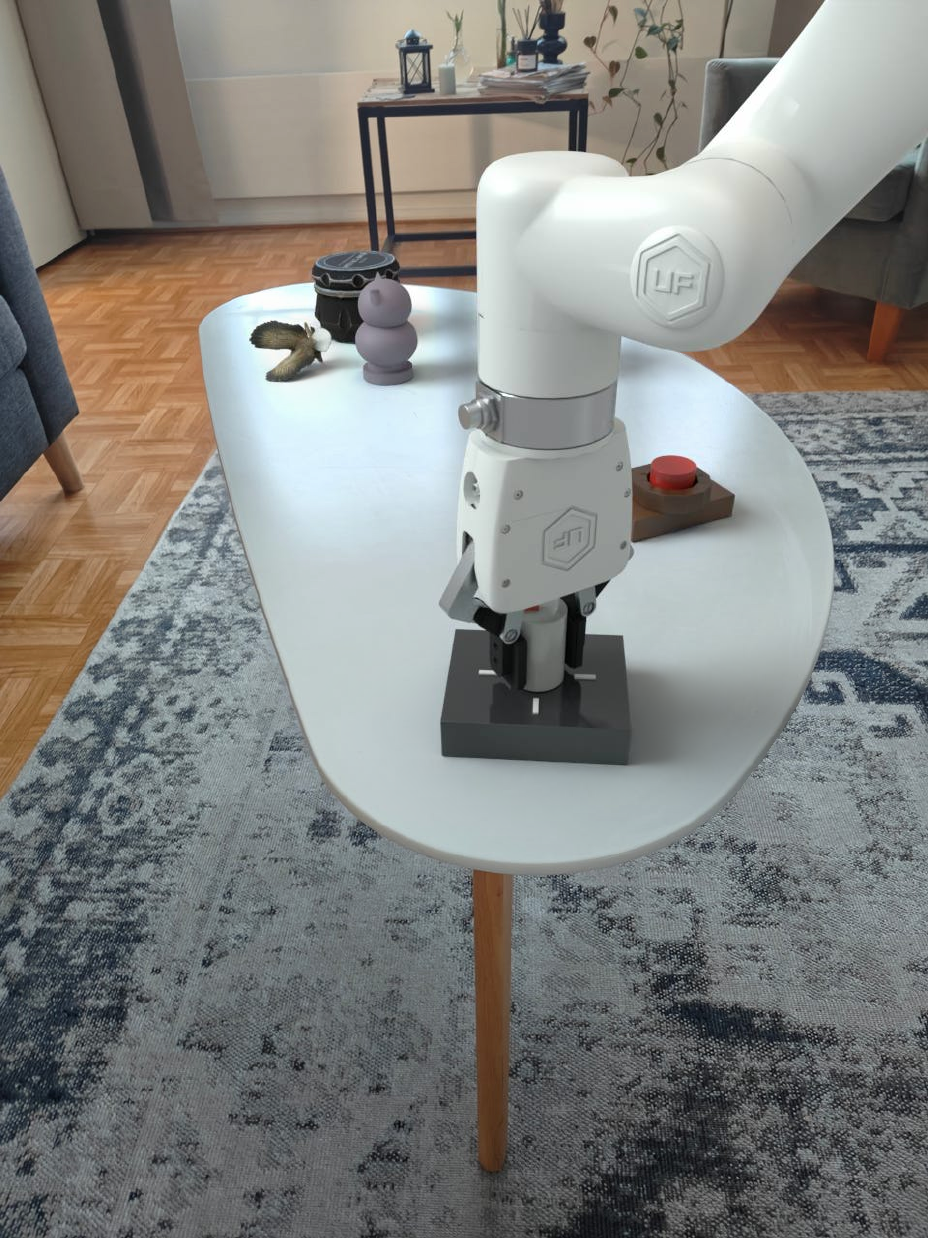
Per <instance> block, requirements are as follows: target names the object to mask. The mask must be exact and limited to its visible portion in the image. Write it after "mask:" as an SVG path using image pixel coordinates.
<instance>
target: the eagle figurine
mask: <svg viewBox="0 0 928 1238" xmlns="http://www.w3.org/2000/svg"><path fill="white" fill-rule="evenodd" d="M248 341H249V342H250V344H251V345H253V346H254V348H255V349H262V350H273V351H274V350H275V351H279V350H289V351H290V353H289V354H288V356H287V357H285V358H284V359H283V360H281V361H280V362H279V363H278V364H277V365H276V366H275V367H274V368H273V367H272V369H270V370H268V371H267V372H265V375H264V377H265V380H266V381H268V382H271V381H272V382H277V381H278V382H281V381H286V380H287V381H288V380H289V379H292V378H293V377H294V376H297V373H299V372H300V371H301V370H303V369H304V368H306V367H309V366H312V364H313V363H314V362H315V361H316V360H317V362H318V363H321V364H323V363H324V360H323V357H322V353H327V351H328V350H329V348H330V346H331V344H332V338H331V335H330V333H329V332H328V331H327V330H326V329H324V328H321V327H317V328H315V327H314V326H309V324H308V323H307V321H304V323H303V326H302V325H300V323H296V324H290V323H288V322H282V321H278V320H270V321H266V322H263V323H260V324H259V325H257V326H255V328H254V329H253V330H252V332H251V333H250V337H249V339H248Z"/></svg>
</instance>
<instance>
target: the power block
mask: <svg viewBox="0 0 928 1238" xmlns="http://www.w3.org/2000/svg"><path fill="white" fill-rule="evenodd" d="M650 470H651V463H647V464H643V465H640V466H634V467H631V472H632V531H631V543H635V542H638V541H642V540H647V539H650V538H654V537H657V536H660V535H661V536H662V535H665V534H668V533H672V532H676V531H679V530H683V529H687V528H690V527H691V528H692V527H694V526H697V525H701V524H705V523H709V522H712V521H716V520H719V519H725V518H727V517H730V516H732V515H733V511H734V504H735V499H736V494H735V493H733V492H732V491H730V490H728V489H727V488H726V487H724V486H723V485H721V484H719V483H718V482H716V481H715V480H713V479H711V475H710V474H709V473H707V472H705V470H703V469H701V468H699V467H698V466H697V468H696V475H695V482H694V486H693V487H692V488H688V489H684V490H667V489H663V488H659V487H655V486H654V485H652V484H651V483H650V480H649V479H650Z"/></svg>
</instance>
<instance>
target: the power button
mask: <svg viewBox="0 0 928 1238" xmlns="http://www.w3.org/2000/svg"><path fill="white" fill-rule="evenodd" d="M650 464H651V470H650V479H649V480H650V483H651V484H652V485H654V486H655V487H659V488H663V489H667V490H684V489H688V488H692V487H693V486H694V482H695V475H696V468H697V467H698V466H697V464H696V462H695V461H694V460H693V459H690V458H688V457H686V456H681V455H675V454H671V455H670V454H667V455H662V456H661V455H660V456H657V457H655V458H654V459H653V460H652V461H651V462H650Z"/></svg>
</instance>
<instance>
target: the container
mask: <svg viewBox="0 0 928 1238" xmlns="http://www.w3.org/2000/svg"><path fill="white" fill-rule="evenodd" d="M377 271H378V273H379V275H380V277H381V278H382V279H391V280H394V281H397V282H398V283H400V284H401V280H400V279H401V278H400V277H399V276H400V273H401V271H402V267H401V265H400V262H399V261H398V260H397V258H396V256H395V255H393V254H391V253H387V252H383V251H382V252H381V251H377V250H376V251H375V250H361V251H359V250H354V251H343V252H341V251H340V252H335V253H331V254H327V255H325V256H321V257H319V258H317V259H316V260H315V261H314V264H313V266H312V267H311V273H310V276H311V278H312V279H313V280H314V283H313V289H314V292H315V293H316V298H315V307H314V308H315V309H314V317H315V319H316V320H317V321H318V322H319V326H320V328H324V329H326V330H327V331H328V332H329V333H330V335H331V340H333V341H335V342H337V343H346V344H355V336H356V332H357V330H358V328H359V327H360V326H361V324H362V323H363V322H364V321H363V319H362V318H361V316H360V313H359V309H358V299H359V295H360V293H361V291H362V290H363V289H364V288H365V286H366V285H368V284H369V283H371V282H372V281H374V280H375V277H376V274H377Z"/></svg>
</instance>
